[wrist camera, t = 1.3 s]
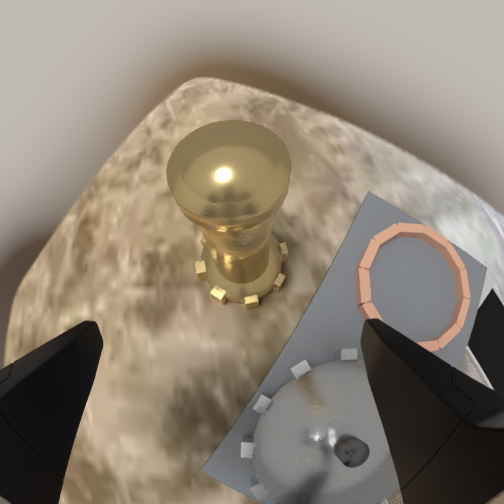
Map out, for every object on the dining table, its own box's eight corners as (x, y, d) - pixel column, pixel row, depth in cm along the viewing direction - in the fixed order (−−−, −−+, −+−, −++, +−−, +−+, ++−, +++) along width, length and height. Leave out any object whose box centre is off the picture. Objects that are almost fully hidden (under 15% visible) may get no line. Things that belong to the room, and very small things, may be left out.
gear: (358, 532, 14) (373, 555, 10) (206, 469, 17) (195, 489, 13) (446, 392, 18) (475, 393, 14) (307, 317, 21) (317, 305, 17)
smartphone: (478, 273, 23) (483, 270, 23) (536, 377, 19) (542, 376, 18) (441, 320, 22) (447, 318, 21) (505, 427, 17) (511, 428, 16)
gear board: (353, 528, 15) (362, 541, 13) (204, 464, 18) (198, 474, 16) (478, 273, 23) (493, 264, 21) (363, 200, 26) (371, 184, 24)
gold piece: (257, 325, 22) (255, 272, 10) (182, 278, 24) (114, 188, 12) (302, 252, 24) (338, 141, 12) (230, 212, 26) (210, 91, 14)
